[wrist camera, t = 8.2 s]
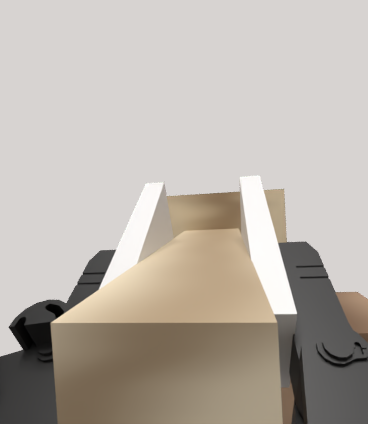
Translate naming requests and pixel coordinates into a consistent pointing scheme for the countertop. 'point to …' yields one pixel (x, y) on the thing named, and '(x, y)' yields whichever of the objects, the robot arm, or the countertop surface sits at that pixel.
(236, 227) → the mallet
